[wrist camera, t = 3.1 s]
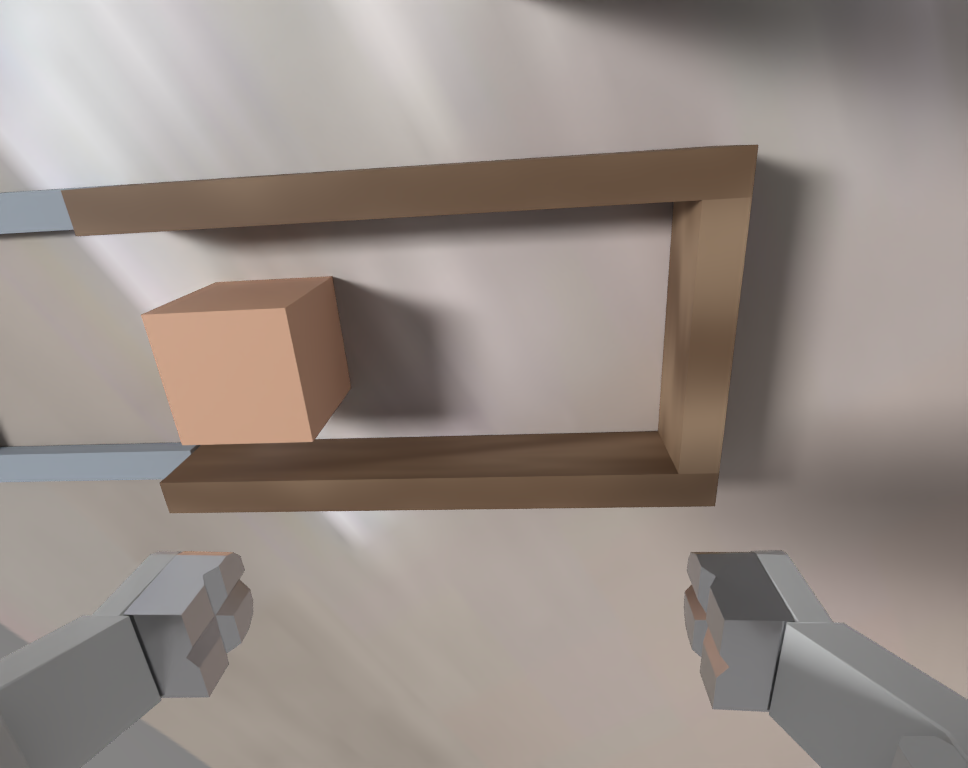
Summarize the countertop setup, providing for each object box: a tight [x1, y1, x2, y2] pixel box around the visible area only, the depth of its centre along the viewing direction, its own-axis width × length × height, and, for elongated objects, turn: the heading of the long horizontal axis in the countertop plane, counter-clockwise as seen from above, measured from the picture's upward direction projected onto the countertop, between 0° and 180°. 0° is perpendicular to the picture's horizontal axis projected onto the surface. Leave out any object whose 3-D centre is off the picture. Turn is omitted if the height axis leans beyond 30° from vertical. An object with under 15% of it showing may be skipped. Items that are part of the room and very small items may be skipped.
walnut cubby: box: [61, 145, 758, 513], centre depth 22 cm, size 13×22×4 cm, turn 94°
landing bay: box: [0, 185, 200, 482], centre depth 24 cm, size 13×12×1 cm
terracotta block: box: [141, 276, 351, 445], centre depth 22 cm, size 5×5×5 cm
